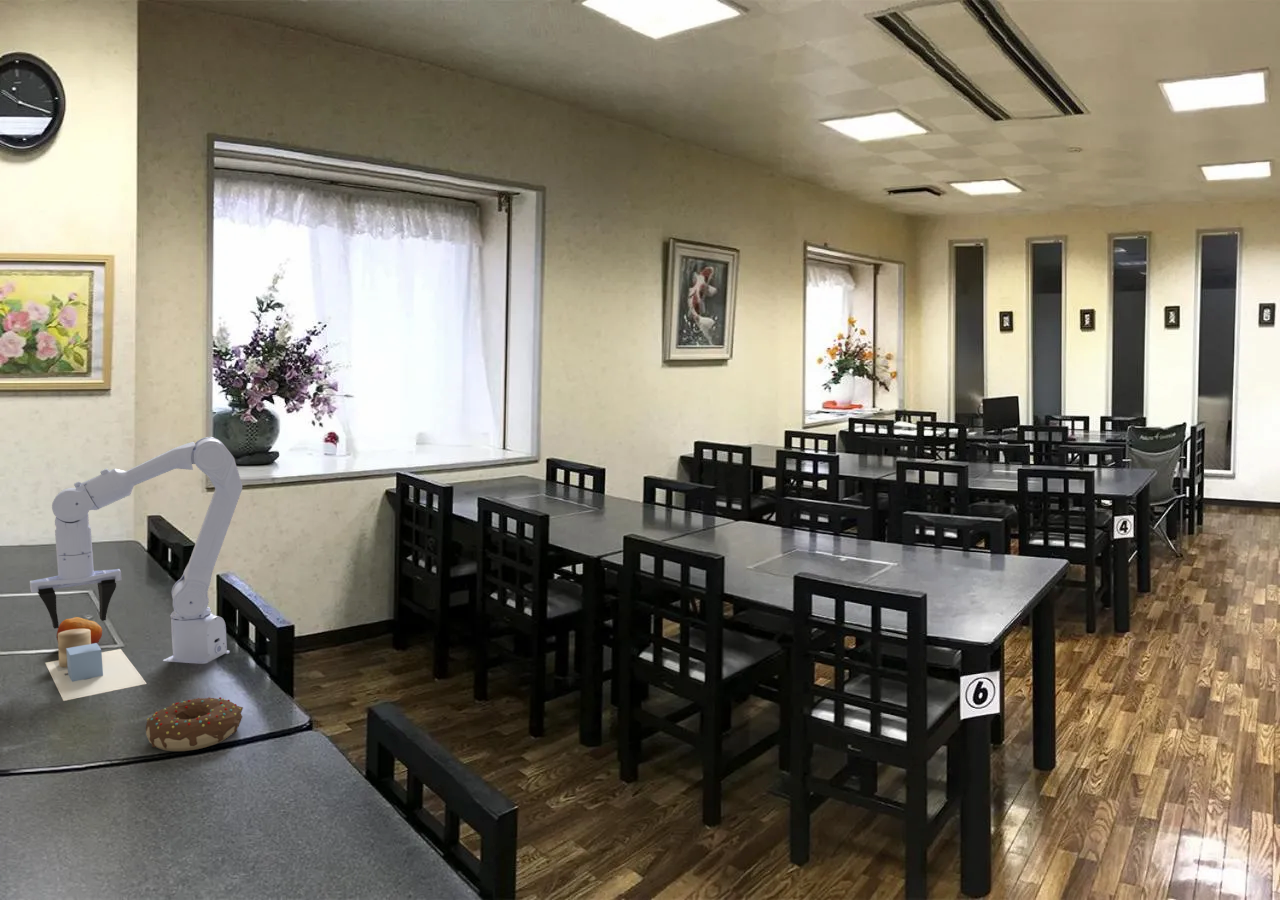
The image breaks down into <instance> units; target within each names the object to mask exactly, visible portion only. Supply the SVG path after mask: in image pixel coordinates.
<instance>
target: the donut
mask: <svg viewBox="0 0 1280 900" xmlns="http://www.w3.org/2000/svg"><path fill="white" fill-rule="evenodd" d="M243 709H244V707H243V706H240V705H239V706H238V705H237V704H236V703H233V702H232V701H230V699H224V698H222V697H218V698H215V697H210V696H209V697H207V698H205V697H204V698H200V697H198V698H192V699H188V700H182V701H180V702H175V703H171V705H169V706H166V707H164V708H161V709H159V710H158V711H155V713H154V714H153V715H151V716H150V717H147V719H146V725H145V734H146V737H147V739H148V741H149V743H150V744H151V747H152V748H158V749H159V750H163V751H168V752H187V751H195V750H199V749H203V748H207V747H211V746H214V745H217V744H219V743H221V742H224V741H225V740H226V738H227V739H228V738H230V736H232V735H234V734H236V733H237V731H238V728H239V726H240V724H241V721H242V719H243V715H242V711H243Z"/></svg>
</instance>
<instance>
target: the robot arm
mask: <svg viewBox="0 0 1280 900" xmlns="http://www.w3.org/2000/svg"><path fill="white" fill-rule="evenodd" d="M193 465H195V466H196V467H197V469H198V470H200V471H201V472H202V473H203V474H205V476H207V477H208V478H209V480H210V483H211V484H212V486H213V487H214V491H213V495H212V497H211V500H210V503H209V505H208V508H207V510H206V514H205V516H204V519H203V522H202V525H201V528H200V530H199V533H198V535H197V539H196V541H195V543H194V547H193V550H192V551H191V556H190V557H189V561H188V562H187V564H186V566H185V569H184V570H183V572H182V573H183V574H182V575H181V577H180V579H178V580H177V581H176V582H175V583H174V584H173V586H172V588H171V598H172V609H173V611H172V612H171V613H170V628H171V645H172V646H171V647H172V655H171V656H168V657H167V658H163V660H162V662H170V663H171V662H172V663H184V664H185V663H186V664H188V663H189V664H199V665H200V664H204V665H205V664H208V663H210V662H212V661H214V660H216V659H218V658H219V657H221V656H223V655H225V654H227V655H228V654H230V650H228V647H227V646H228V645H227V644H228V642H227V627H226V626H227V625H226V622H225V620H224V618H223V617H221V616H219V615H215V614H213V613H212V610H211V607H209V601H210V600H209V595H208V594H209V593H208V592H209V588H210V585H211V581H212V575H213V571H214V568H215V566H216V563H217V561H218V558H219V556H220V555H219V554H220V552H221V549H222V546H223V544H224V540H225V538H226V535H227V532H228V530H229V527H230V524H231V521H232V518H233V515H234V513H235V510H236V508H237V504H238V501H239V499H240V496H241V494H242V491H243V482H242V480H241V476H240V474H239V470H238V467H237V464H236V459H235V457H234V455H233V454H232V453H231V452H230V450H229V449H228V448H227V446H226V445H225V444H224V443H223V441H221V440H219V439H218V438H216V437H212V436H207V437H203V438H202V437H201V438H200V439H198V440H197V441H196V442H194V441H191V442H187V443H185V444H181V445H179V446H176V447H174V448H171V449H170V450H167V451H165V452H163V453H161V454H159V455H156V456H155V457H153V458H150V459H149V460H146V461H144V462H143V463H140V464H138V465H136V466H133V467H131V468H130V469H128V470H123V469H118V468H112V469H110V470H109V468H108V467H107V468H104V469H102V470H100V474H99V475H96V476H95V477H92V478H89V479H87V480H85V481H83V482H81V481H80V480H79V481H76V482H74V484H73V486H74V487H68V488H64V489H62V490H61V491H59V492H58V493H57V494H56V496H55V498H54V499H53V501H52V504H51V510H52V513H53V515H54V516H55V519H54V526H55V529H54V538H55V549H56V551H55V552H56V561H57V562H56V564H57V575H55V576H49V577H44V578H38V579H35V580H34V579H33V580H29V587H30V592H31V593H32V594H35V593H37V594H38V596H39V597H40V599H41V600H42V602H43V604H44V606H45V607H46V610H47V611H48V615H49V616H50V619H51V623H52V627H53V629H58V628H59V625H60V623H59V619H58V613H57V611H58V610H57V594H56V593H55V592H56V591H55V590H56V589H57V590H58V589H63V588H65V589H66V588H71V587H77V586H78V587H79V586H85V585H91V584H97V589H98V598H99V599H98V600H99V606H98V607H99V612H98V613H99V619H100V621H101V622H104V621H106V620H107V613H108V609H109V604H110V603H111V600H112V597H113V594H114V592H115V590H116V588H117V583H116V582H118V581H119V582H120V581H122V580H123V579H122V571H121V569H120V568H115V569H103V570H94V569H95V568H94V552H93V541H92V527H91V525H90V522H89V520H90V519H89V511H98V510H101V509H102V508H105V507H107V506H109V505H111V504H114V503H116V502H118V501H120V500H123V499H125V498H126V497H129V496H131V494H132V491H133V489H134V486H136V485H139V484H141V483H144V482H146V481H149V480H151V479H154V478H156V477H159V476H161V475H163V474H166V473H169V472H171V471H174V470H176V469H178V470H189V471H190V470H191V471H193V470H194V468H193Z"/></svg>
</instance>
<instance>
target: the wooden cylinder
mask: <svg viewBox="0 0 1280 900" xmlns="http://www.w3.org/2000/svg"><path fill="white" fill-rule="evenodd" d="M88 644H91V631H90V630H89V629H72V630H66V631H63V632H60V633H58V641H57V646H58V649H57V650H58V660H59V666H61V667H68V666H67V653H66V648H71V647H77V646H82V645H88Z"/></svg>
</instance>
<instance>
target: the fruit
mask: <svg viewBox="0 0 1280 900" xmlns="http://www.w3.org/2000/svg"><path fill="white" fill-rule="evenodd" d="M72 629H89V630H90V631H91V644H94V643H97V644H98V645H99V642H100V640H101V638H102V637H103V636H102V635H103V628H102V626H101V625H100V624H98V622H96V621H94V620H89V619H88V618H82V617H80V616H79V617H78V616H73V617H72V618H66V619H64V620H62V621H61V623H59V628H57V632H56V641H57V642H58V633H60V632H63V631H66V630H72Z"/></svg>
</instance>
